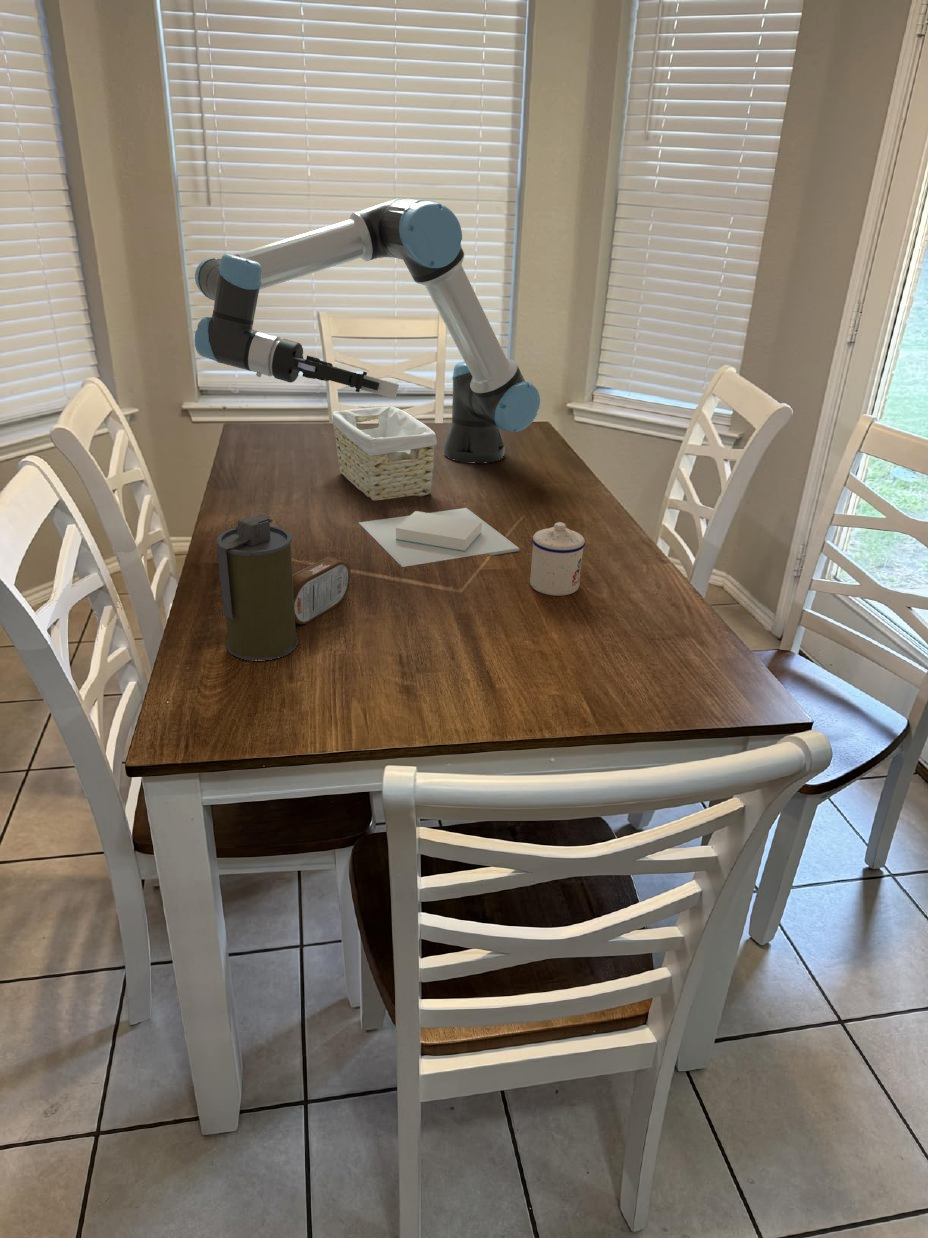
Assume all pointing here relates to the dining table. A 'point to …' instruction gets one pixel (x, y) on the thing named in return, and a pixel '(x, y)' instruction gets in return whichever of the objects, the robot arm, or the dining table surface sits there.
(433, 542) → the tile
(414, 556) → the mat
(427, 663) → the dining table surface
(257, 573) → the canister
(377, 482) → the storage basket
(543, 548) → the teacup with lid
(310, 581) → the tin
